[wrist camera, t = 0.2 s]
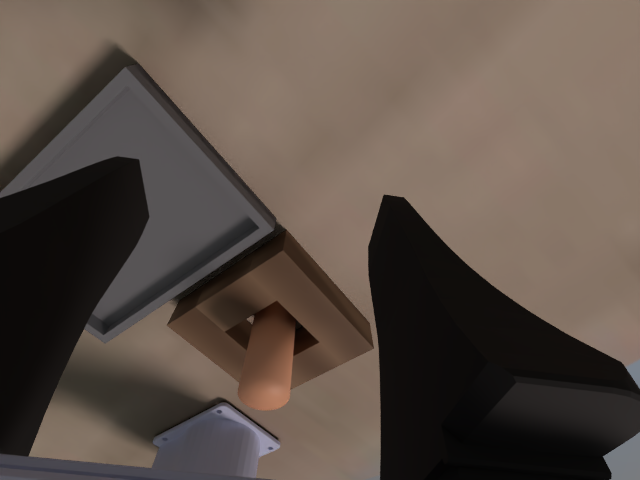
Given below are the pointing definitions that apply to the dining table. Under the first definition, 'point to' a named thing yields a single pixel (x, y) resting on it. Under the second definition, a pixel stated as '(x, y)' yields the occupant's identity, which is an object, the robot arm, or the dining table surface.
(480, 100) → the dining table surface
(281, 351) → the pin
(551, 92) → the dining table surface
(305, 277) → the socket block
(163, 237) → the tray
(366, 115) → the dining table surface
